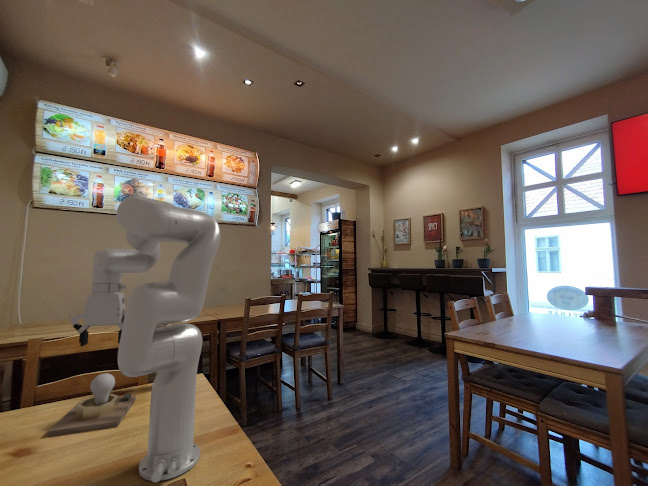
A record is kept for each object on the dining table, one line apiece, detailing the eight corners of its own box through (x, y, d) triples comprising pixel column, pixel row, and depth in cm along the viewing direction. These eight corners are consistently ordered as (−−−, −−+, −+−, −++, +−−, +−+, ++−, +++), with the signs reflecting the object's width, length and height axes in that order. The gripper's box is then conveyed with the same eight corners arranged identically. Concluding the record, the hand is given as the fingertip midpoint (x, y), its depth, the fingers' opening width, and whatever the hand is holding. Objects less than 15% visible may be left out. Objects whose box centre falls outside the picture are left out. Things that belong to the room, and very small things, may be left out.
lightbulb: (118, 407, 91) (120, 371, 92) (98, 417, 85) (101, 378, 86) (102, 405, 92) (105, 369, 93) (82, 414, 86) (85, 376, 87)
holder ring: (110, 415, 86) (110, 405, 86) (70, 421, 82) (71, 410, 83) (121, 401, 95) (121, 392, 95) (85, 406, 91) (86, 396, 92)
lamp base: (117, 426, 82) (118, 416, 83) (47, 436, 77) (48, 426, 78) (135, 399, 99) (136, 391, 100) (79, 406, 94) (79, 398, 94)
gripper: (140, 287, 98) (137, 339, 97) (79, 288, 93) (74, 343, 91) (134, 289, 91) (131, 344, 90) (67, 290, 86) (62, 349, 84)
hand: (102, 344), depth 90 cm, fingers open, 9 cm apart
